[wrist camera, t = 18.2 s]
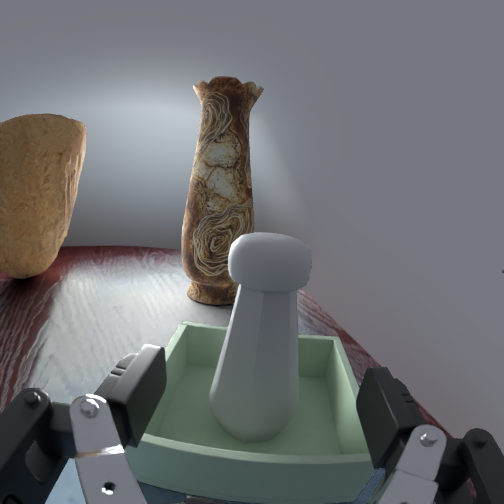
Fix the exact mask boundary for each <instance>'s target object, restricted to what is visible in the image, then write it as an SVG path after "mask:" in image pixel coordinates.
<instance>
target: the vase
mask: <svg viewBox="0 0 504 504" xmlns="http://www.w3.org/2000/svg"><path fill="white" fill-rule="evenodd" d="M193 88H194V90H195V92H196V94H197V96H198V98H199V100H200V102H201V105H202V113H201V123H200V129H199V135H198V142H197V147H196V154H195V159H194V164H193V170H192V175H191V180H190V187H189V191H188V197H187V203H186V210H185V215H184V222H183V229H182V262H183V267H184V271H185V273H186V275H187V276H188V278H189V279H190V280H191V285H190V286H189V288H188V290H187V294H188V296H189V297H190V298H192V299H193V300H195V301H198V302H201V303H206V304H215V305H224V304H232V303H235V299H236V295H237V291H238V287H239V284H238V283H236V282H234V281H233V280H232V278H231V276H230V275H229V271H228V255H229V252H230V248H231V244H232V243H233V242H234V241H235V240H236V239H237V238H239V237H240V236H241V235H245V234H250V233H255V230H254V229H255V228H254V227H255V226H254V211H253V198H252V185H251V184H252V183H251V169H250V150H249V149H250V148H249V115H250V111H251V108H252V107H253V105H254V103H255V102H256V101H257V99H258V98H259V96H260V95H261V93H262V92H263V90H264V89H263V88H262V87H260V86H259V87H257V88H256V85H255V83H254V82H247V83H244V84H242V83H241V82H240V81H239V80H238V79H237V78H235V77H227V76H219V77H214V78H212V80H211V81H210V82H209V83H207V82H205V81H204V80H201V81H199V83H198V86H197V85H193Z"/></svg>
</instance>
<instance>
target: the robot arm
mask: <svg viewBox="0 0 504 504" xmlns="http://www.w3.org/2000/svg"><path fill="white" fill-rule="evenodd" d="M502 273H504V270H503V271H502ZM166 384H167V372H166V358H165V349H164V347H160V346H155V345H150V344H144V346H143V347H142V348H141V350H140V351H139V352H138V354H134V353H131V354H129V355H127V356H125V357H124V358H122V359H121V360H120V361H119V363H118V364H117V365H116V368H114V369H113V370H112V371H111V374H109V375H108V376H107V378H106V379H105V380H104V382H103V383H102V384H101V385H100V387H99V388H98V389H97V390H96V392H95V393H94V394H93V395H85V396H81V397H78V398H77V399H75V400H74V401H73V402H72V403H71V404H66V403H58V402H51V400H50V397H49V395H48V393H47V392H46V391H44V390H43V389H40V388H28V389H25V390H23V391H21V392H20V393H19V394H18V395H17V396H16V397H15V398H14V399H13V401H12V402H11V403H10V404H9V405H8V406H7V407H6V408H5V409H4V411H3V412H2V413H1V414H0V504H45V502H46V500H47V498H48V496H49V494H50V492H51V491H52V489H53V487H54V485H55V483H56V481H57V479H58V478H59V476H60V474H61V472H62V470H63V469H64V467H65V465H66V463H67V461H68V460H69V458H72V459H75V463H76V468H77V472H78V476H79V480H80V484H81V487H82V491H83V494H84V498H85V501H86V504H147V501H146V499H145V497H144V495H143V493H142V491H141V489H140V487H139V485H138V482H137V480H136V478H135V475H134V473H133V471H132V468H131V466H130V464H129V461H128V459H127V456H126V453H125V451H124V450H125V448H126V446H127V445H128V446H131V447H135V448H137V447H138V445H139V443H140V441H141V439H142V437H143V434H144V432H145V430H146V428H147V426H148V424H149V422H150V420H151V418H152V416H153V414H154V412H155V410H156V408H157V406H158V404H159V402H160V400H161V398H162V396H163V394H164V392H165V389H166ZM356 411H357V414H358V417H359V420H360V424H361V427H362V430H363V433H364V437H365V440H366V443H367V447H368V450H369V454H370V457H371V460H372V464H373V468H374V469H381V468H385V470H386V473H385V475H384V476H383V478H382V479H381V481H380V483H379V484H378V486H377V488H376V489H375V491H374V493H373V494H372V496H371V498H370V499H369V501H368V502H367V504H432V502H433V500H435V503H436V504H504V456H503V454H502V452H501V450H500V448H499V447H498V445H497V443H496V442H495V440H494V438H493V437H492V435H491V434H490V433H489V432H487V431H486V430H483V429H479V428H475V429H471V430H469V431H468V432H467V433H466V435H465V436H464V438H463V439H457V438H446V436H445V434H444V433H443V431H442V430H440V429H439V428H437V427H435V426H432V425H427V424H426V422H425V420H424V418H423V416H422V415H421V413H420V411H419V409H418V407H417V405H416V404H415V402H414V400H413V398H412V396H410V393H409V391H408V389H407V388H406V386H405V385H404V384H402V382H400V381H399V380H398V379H393V377H392V375H391V373H390V372H389V370H388V368H387V367H369V368H368V369H367V370H366V372H365V375H364V378H363V381H362V384H361V387H360V389H359V392H358V395H357V398H356ZM32 444H33V445H32ZM30 447H31V448H30ZM28 450H29V451H28ZM26 453H27V454H26ZM469 478H471V481H472V483H473V485H474V488H475V490H476V499H475V501H474V499H473V497H472V494H471V492H470V489H469V487H468V484H467V482H466V481H467V480H468V479H469ZM169 504H229V503H226V502H223V501H218V500H211V499H205V498H200V497H194V496H189V495H186V498H185V501H184V503H169Z"/></svg>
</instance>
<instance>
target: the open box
mask: <svg viewBox="0 0 504 504" xmlns="http://www.w3.org/2000/svg"><path fill="white" fill-rule="evenodd" d="M227 329H228V327H222V326H214V325H207V324H199V323H193V322H186V321H182V323H181V324H180V326H179V328H178V329H177V331H176V332H175V334H174V336H173V337H172V339H171V341H170V342H169V344H168V346H167V347H166V349H165V358H166V372H167V384H166V389H165V392H164V394H163V396H162V398H161V400H160V402H159V404H158V406H157V408H156V410H155V412H154V414H153V416H152V418H151V420H150V422H149V424H148V426H147V428H146V430H145V432H144V434H143V437H142V439H141V441H140V443H139V445H138V447H137V448H135V447H131V446H128V445H127V446H126V448H125V450H124V451H125V453H126V456H127V459H128V461H129V464H130V466H131V468H132V471H133V473H134V475H135V478H136V480H137V481H139V482H143V483H146V484H150V485H153V486H157V487H161V488H165V489H169V490H173V491H177V492H182V493H187V494H192V495H197V496H202V497H208V498H215V499H221V500H229V501H238V502H248V503H262V504H327V503H340V502H350V501H354V500H355V499H356V498H357V497H358V495H359V494H360V493H361V491H362V490H363V489H364V487H365V486H366V485H367V483H368V482H369V480H370V479H371V478H372V476H373V475H374V473H375V472H376V470H377V469H374V468H373V464H372V460H371V457H370V454H369V450H368V447H367V443H366V440H365V437H364V433H363V430H362V427H361V424H360V420H359V417H358V414H357V411H356V398H357V395H358V392H359V386H358V384H357V381H356V379H355V376H354V373H353V371H352V368H351V366H350V363H349V360H348V358H347V355H346V353H345V350H344V348H343V345H342V343H341V340H340V338H339V337H332V336H315V335H301V334H298V361H299V401H298V410H297V413H296V415H295V416H294V418H293V419H292V420H291V421H290V422H289V423H288V425H287V426H286V427H285V428H284V429H283V430H282V431H280V432H279V433H278V434H277V435H276V436H275V437H274V438H272V439H270V440H264V441H258V442H251V443H243V442H241V441H240V440H238V439H236V438H235V437H233V436H231V435H230V434H228V433H226V432H225V431H223V430H222V428H221V427H220V425H219V423H218V422H217V420H216V419H215V417H214V415H213V412H212V408H211V405H210V400H209V394H210V390H211V386H212V383H213V379H214V376H215V372H216V369H217V365H218V361H219V358H220V354H221V351H222V347H223V344H224V340H225V337H226V333H227Z"/></svg>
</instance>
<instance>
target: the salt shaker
mask: <svg viewBox="0 0 504 504" xmlns="http://www.w3.org/2000/svg"><path fill="white" fill-rule="evenodd" d="M311 268H312V261H311V250H310V248H309V247H308V246H307V245H306V244H305V243H304V242H302V241H300V240H298V239H296V238H293V237H290V236H286V235H281V234H275V233H250V234H245V235H241V236H240V237H239V238H237V239H236V240H235V241H234V242H233V243H232V244H231V248H230V252H229V255H228V271H229V275H230V276H231V278H232V280H233V281H234V282H236V283H238V284H239V287H238V291H237V295H236V299H235V303H234V307H233V311H232V315H231V319H230V322H229V326H228V329H227V333H226V337H225V340H224V344H223V347H222V351H221V354H220V358H219V361H218V365H217V369H216V372H215V376H214V379H213V383H212V386H211V390H210V394H209V400H210V405H211V408H212V412H213V415H214V417H215V419H216V420H217V422H218V423H219V425H220V427H221V428H222V430H223V431H225V432H226V433H228V434H230V435H231V436H233V437H235V438H236V439H238V440H240V441H241V442H243V443H251V442H258V441H264V440H270V439H272V438H274V437H275V436H276V435H277V434H278V433H279V432H280V431H282V430H283V429H284V428H285V427H286V426H287V425H288V423H289V422H290V421H291V420H292V419H293V418H294V416H295V415H296V413H297V410H298V401H299V361H298V316H297V290H299V289H300V288H302V287H304V286H305V285H306V284H307V282H308V280H309V277H310V273H311Z"/></svg>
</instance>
